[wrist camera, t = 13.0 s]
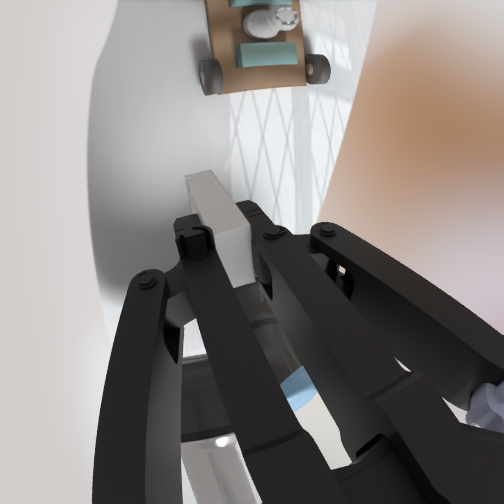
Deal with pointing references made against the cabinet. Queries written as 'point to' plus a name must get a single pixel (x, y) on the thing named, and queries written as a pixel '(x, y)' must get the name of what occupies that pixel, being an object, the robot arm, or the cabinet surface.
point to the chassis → (256, 52)
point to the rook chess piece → (270, 22)
